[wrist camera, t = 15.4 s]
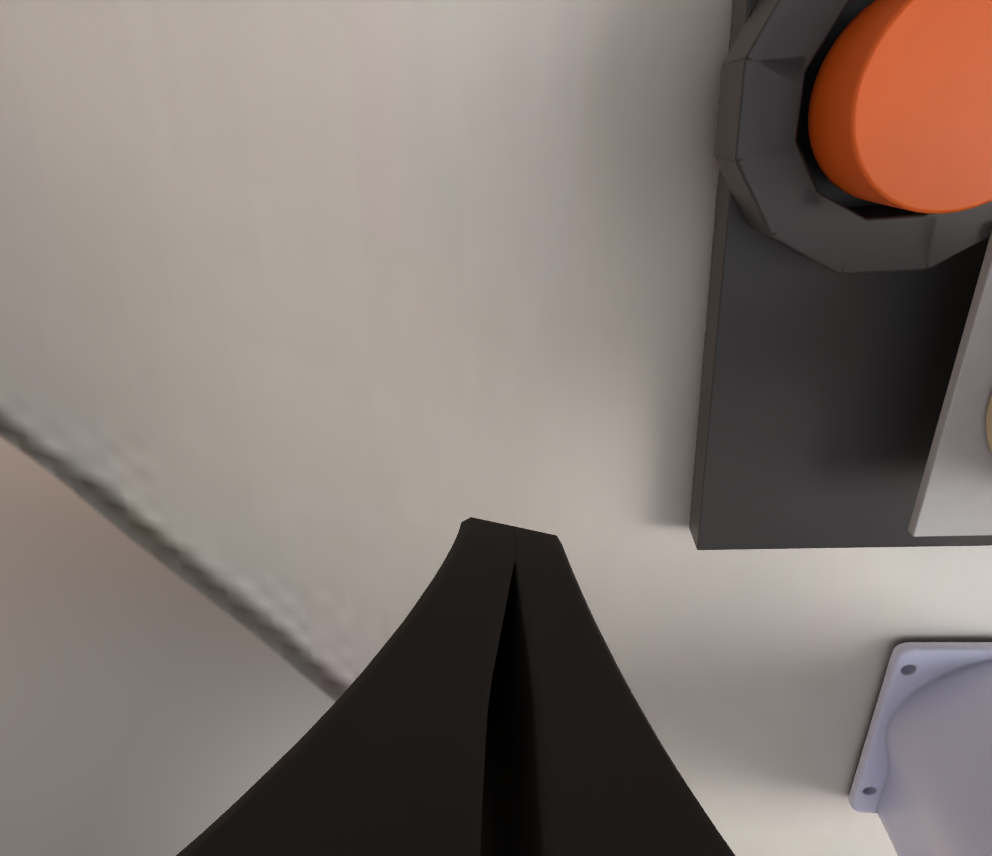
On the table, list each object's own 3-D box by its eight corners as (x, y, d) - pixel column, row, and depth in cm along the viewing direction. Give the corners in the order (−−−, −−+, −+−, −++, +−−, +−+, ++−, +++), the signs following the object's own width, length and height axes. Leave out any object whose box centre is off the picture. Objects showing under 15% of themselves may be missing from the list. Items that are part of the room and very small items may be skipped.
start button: (988, 195, 13) (1061, 207, 11) (793, 208, 13) (833, 221, 11) (1051, -36, 11) (1151, -68, 9) (823, -13, 11) (876, -39, 10)
